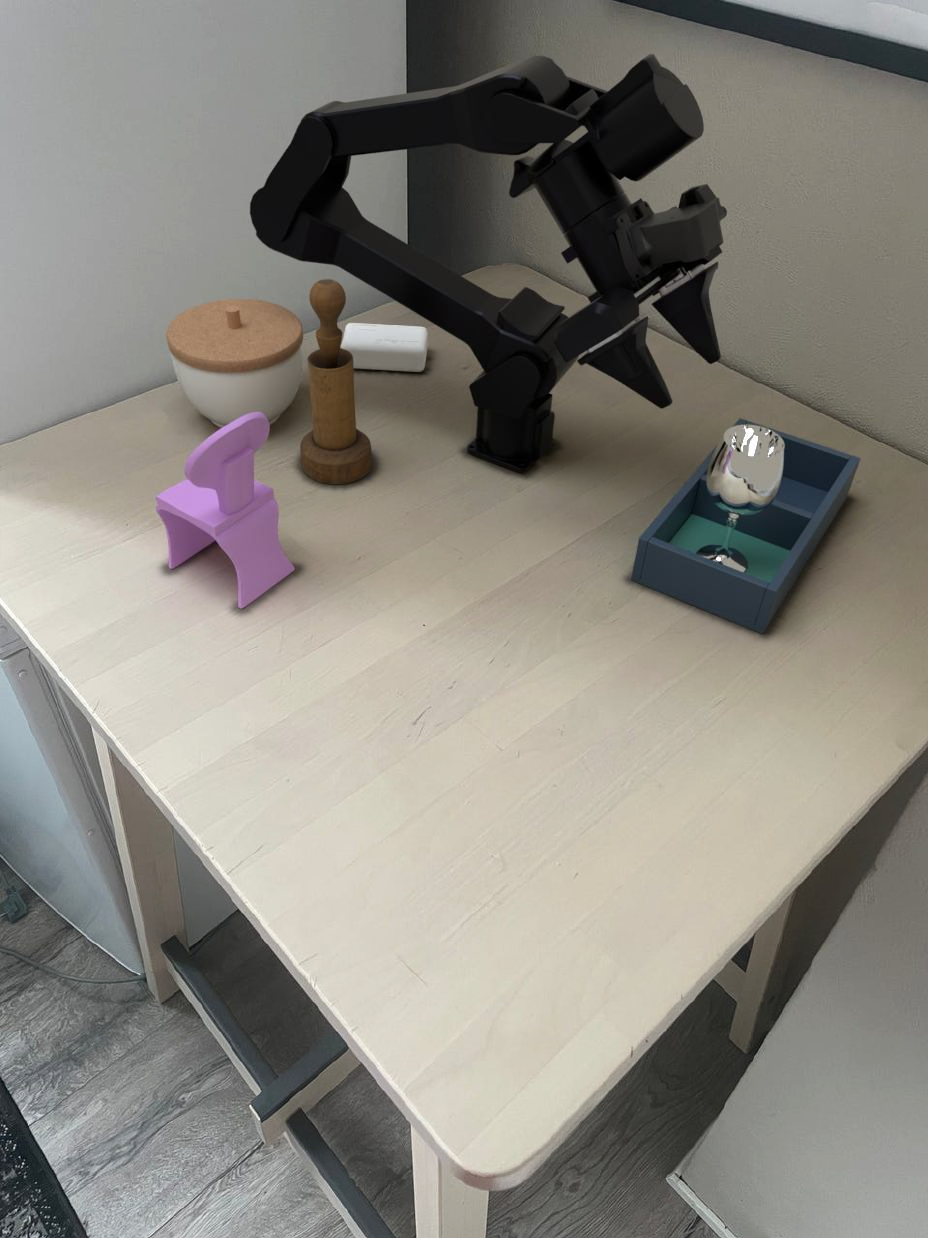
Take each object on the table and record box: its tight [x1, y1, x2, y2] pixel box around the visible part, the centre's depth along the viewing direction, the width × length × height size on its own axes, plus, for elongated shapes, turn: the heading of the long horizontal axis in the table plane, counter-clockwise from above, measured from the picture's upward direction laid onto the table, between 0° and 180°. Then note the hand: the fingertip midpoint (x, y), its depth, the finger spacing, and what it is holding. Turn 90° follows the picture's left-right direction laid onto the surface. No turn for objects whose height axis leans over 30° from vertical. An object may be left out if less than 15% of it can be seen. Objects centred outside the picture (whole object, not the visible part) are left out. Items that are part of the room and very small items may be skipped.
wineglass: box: [696, 425, 785, 573], centre depth 83 cm, size 6×6×12 cm
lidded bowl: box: [165, 298, 304, 429], centre depth 99 cm, size 13×13×11 cm
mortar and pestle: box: [299, 278, 373, 485], centre depth 91 cm, size 7×6×18 cm
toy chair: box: [155, 412, 296, 610], centre depth 80 cm, size 8×9×15 cm
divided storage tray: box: [630, 417, 862, 635], centre depth 89 cm, size 12×22×4 cm, turn 148°
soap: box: [340, 322, 429, 373], centre depth 111 cm, size 9×6×3 cm, turn 88°
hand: (692, 382), depth 85 cm, fingers open, 9 cm apart
